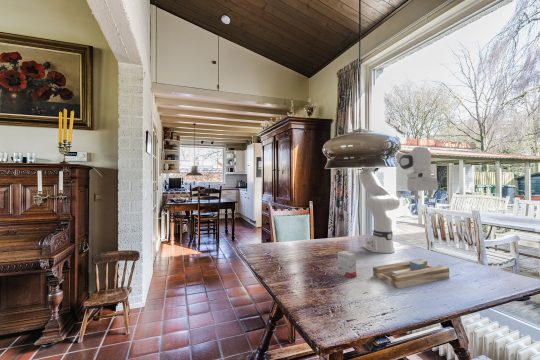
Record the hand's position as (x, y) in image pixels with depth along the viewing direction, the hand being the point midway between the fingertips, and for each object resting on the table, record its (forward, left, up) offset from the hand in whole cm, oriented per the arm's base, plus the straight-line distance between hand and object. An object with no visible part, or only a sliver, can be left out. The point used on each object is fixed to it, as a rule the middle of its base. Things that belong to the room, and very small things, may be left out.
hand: (423, 198), depth 146 cm
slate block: (+8, -15, -36) cm, 40 cm away
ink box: (-7, -48, -39) cm, 63 cm away
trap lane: (+8, -20, -39) cm, 45 cm away
